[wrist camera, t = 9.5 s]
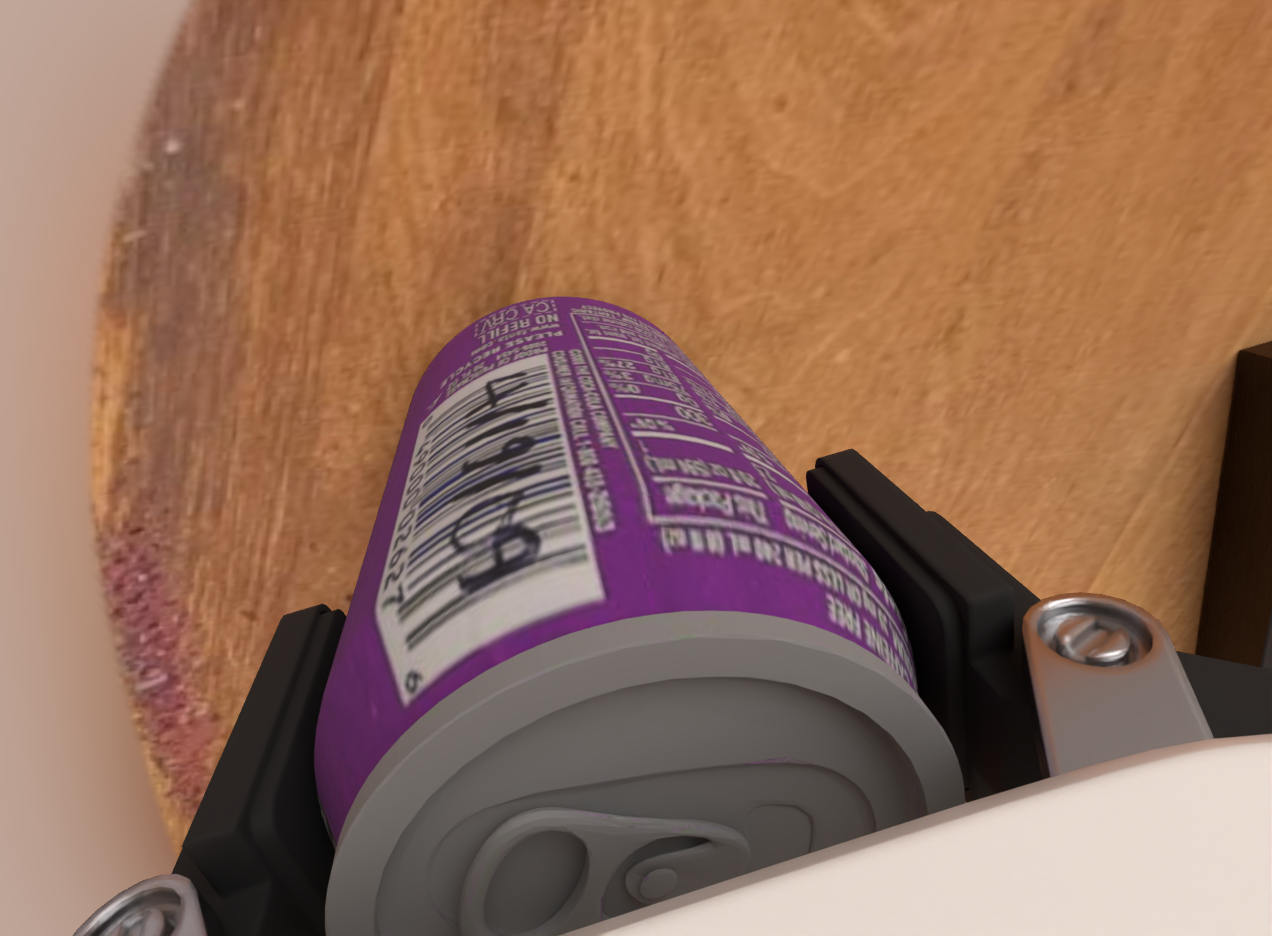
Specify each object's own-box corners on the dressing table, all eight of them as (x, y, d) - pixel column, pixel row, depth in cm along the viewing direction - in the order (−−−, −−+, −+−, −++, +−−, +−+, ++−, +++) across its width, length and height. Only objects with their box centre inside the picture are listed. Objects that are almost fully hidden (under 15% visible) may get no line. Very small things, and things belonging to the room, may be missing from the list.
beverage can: (385, 540, 18) (228, 1138, 7) (438, 252, 16) (320, 512, 5) (656, 582, 20) (849, 1105, 9) (741, 331, 18) (1142, 645, 7)
